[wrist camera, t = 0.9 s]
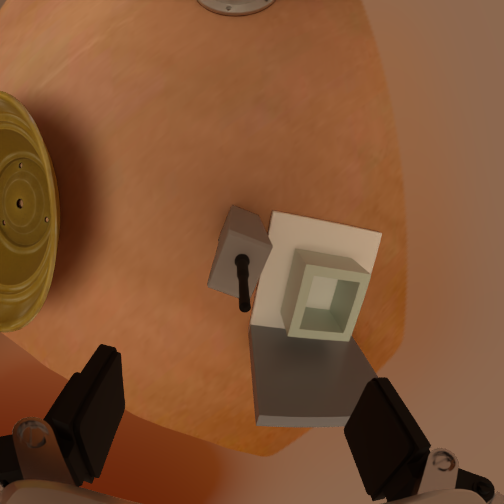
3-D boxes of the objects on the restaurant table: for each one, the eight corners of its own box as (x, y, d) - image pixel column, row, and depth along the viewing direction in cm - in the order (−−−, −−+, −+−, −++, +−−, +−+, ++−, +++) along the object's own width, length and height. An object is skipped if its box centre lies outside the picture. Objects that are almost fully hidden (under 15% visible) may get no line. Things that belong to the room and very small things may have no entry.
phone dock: (272, 210, 39) (303, 247, 21) (378, 231, 41) (462, 276, 22) (248, 329, 44) (255, 425, 25) (345, 339, 45) (393, 421, 27)
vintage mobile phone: (218, 239, 40) (193, 342, 16) (232, 204, 39) (224, 263, 15) (244, 249, 40) (255, 362, 16) (258, 214, 39) (292, 288, 15)
